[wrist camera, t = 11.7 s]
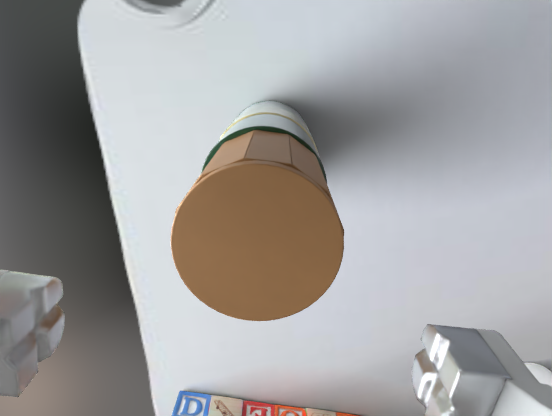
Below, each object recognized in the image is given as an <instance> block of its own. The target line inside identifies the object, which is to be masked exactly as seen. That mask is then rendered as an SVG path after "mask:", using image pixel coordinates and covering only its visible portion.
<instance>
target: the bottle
mask: <svg viewBox="0 0 552 416" xmlns="http://www.w3.org/2000/svg"><path fill="white" fill-rule="evenodd" d="M253 130H260V131H268V132H275V133H282V134H288V135H290V136H292V137H293V138H294V139H296V140H297V141H298V142H299V143H301V144H302V145H303V146H305V147H306V148H307V149H308V150H310V151H311V152H312V153H314V154H315V156H316V157H317V160H318V162H319V165H320V168H321V170H322V173H323V175H324V178H325V181H326V183H327V179H326V174H325V170H324V167H323V164H322V162H321V160H320V157H319V154H318V151H317V147H316V145H315V142H314V140H313V137H312V135H311V133H310V131H309V130H308V127H307V125H306V123H305V121H304V119H303V118H302V117H301V115H300V114H299V113H298V112H297V111H296V110H295V109H293V108H292V107H290V106H288V105H286V104H284V103H281V102H277V101H262V102H258V103H255V104H253V105H251V106H249V107H247V108H246V109H244V110H243V111H242V112H241V113H240V114H239V115H238V117H237V118H236V119H235V120H234V121H233V122H232V123H231V124H230V126H229V127H228V128H227V129H226V131H225V132H224V133H223V134H222V136H221V138H220V139H219V141H218V142H217V144H216V145H215V146H214V147H213V149H212V150H211V151H210V153H209V154H208V156H207V158H206V160H205V162H204V164H203V166H202V170H201V173H202V172H203V170H204V169H205V168H206V166H207V165H208V163H209V162H210V161H211V159H212V158H213V157H214V155H215V154H216V152H217V151H218V150H219V148H220V147H221V146H222V144H224V143H225V142H227V141H229V140H232V139H234V138H236V137H239V136H241V135H243V134H246V133H248V132H251V131H253ZM201 173H200V175H201Z"/></svg>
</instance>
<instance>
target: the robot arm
mask: <svg viewBox="0 0 552 416" xmlns="http://www.w3.org/2000/svg"><path fill="white" fill-rule="evenodd" d="M62 296H63V290H62V282H61V281H60V280H59V279H58V278H55V277H48V276H40V275H33V274H27V273H20V272H10V271H6V270H0V395H2V396H13V397H19V395H20V394H21V393H22V392H23V391H24V389H25V388H26V387H27V386H28V384H29V383H30V382H31V380H32V379H33V378H34V377H35V375H36V374H37V373H38V362H40V361H42V360H44V359H46V358H48V357H50V356H51V355H52V353H53V352H54V351H55V349H56V348H57V347H58V344H59V342H60V339H61V337H62V334H63V330H64V312H63V311H62V310H61V308H60V307H59V306H58V305H57V302H58V301H59V300H60V299H61V297H62ZM421 341H422V343H423V345H424V347H425V348H424V349H423V350H422V351H420V352H419V353H418V354H416V355H415V359H414V363H413V366H412V384H413V389H414V392H415V395H416V397H417V400H419V401H420V402H421V403H422V404H423V405H424V406H425V407H426V408H427V409H426V412H425V415H424V416H552V387H551V386H550V385H548V384H542V383H539V381H538V380H537V379H536V378H535V376H534V375H533V374H532V373H531V371H530V370H529V369H528V368H527V366H526V365H525V364H524V363H523V361H522V360H521V359H520V358H519V356H518V355H517V354H516V353H515V351H514V350H513V349H512V348H511V346H510V345H509V344H508V342H507V341H506V340H505V339H504V337H503V336H502V335H501V334H500V333H498V332H497V331H495V330H486V329H474V328H472V329H471V328H461V327H451V326H441V325H432V324H427V326H426V327H425V329H424V330H423V333H422V336H421Z"/></svg>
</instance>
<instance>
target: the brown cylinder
mask: <svg viewBox="0 0 552 416" xmlns="http://www.w3.org/2000/svg"><path fill="white" fill-rule="evenodd" d="M171 250H172V256H173V260H174V263H175V266H176V269H177V271H178V273H179V275H180V277H181V279H182V280H183V282H184V283H185V285H186V286H187V287H188V288H189V290H190V291H191V292H192V293H193V294H194V295H195V296H196V297H197V298H198V299H199V300H200V301H202V302H203V303H205V304H206V305H207V306H209V307H211V308H212V309H214V310H216V311H218V312H220V313H222V314H225V315H227V316H231V317H234V318H237V319H243V320H251V321H268V320H275V319H280V318H284V317H287V316H290V315H293V314H295V313H298V312H300V311H302V310H303V309H305V308H307V307H309V306H310V305H311V304H313V303H314V302H315V301H317V300H318V299H319V298H320V297H321V296H322V295H323V294H324V293H325V292H326V290H327V289H328V288H329V287H330V285H331V284H332V282H333V281H334V279H335V277H336V275H337V273H338V271H339V268H340V265H341V261H342V257H343V250H344V229H343V226H342V223H341V221H340V218H339V215H338V213H337V210H336V207H335V205H334V202H333V199H332V197H331V194H330V191H329V189H328V186H327V183H326V181H325V178H324V175H323V173H322V170H321V168H320V165H319V162H318V160H317V157H316V156H315V154H314V153H312V152H311V151H310V150H308V149H307V148H306V147H305V146H303V145H302V144H301V143H299V142H298V141H297V140H296V139H294V138H293V137H292V136H290V135H288V134H282V133H275V132H268V131H260V130H253V131H251V132H248V133H246V134H243V135H241V136H239V137H236V138H234V139H232V140H229V141H227V142H225V143H224V144H222V146H221V147H220V148H219V150H218V151H217V152H216V154H215V155H214V157H213V158H212V159H211V161H210V162H209V163H208V165H207V166H206V168H205V169H204V170H203V172H202V173H201V175H200V176H199V177H198V179H197V180H196V182H195V183H194V185H193V186H192V187H191V189H190V190H189V192H188V193H187V194H186V196H185V197H184V199H183V200H182V202H181V203H180V204H179V206H178V207H177V209H176V212H175V217H174V221H173V225H172V231H171Z"/></svg>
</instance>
